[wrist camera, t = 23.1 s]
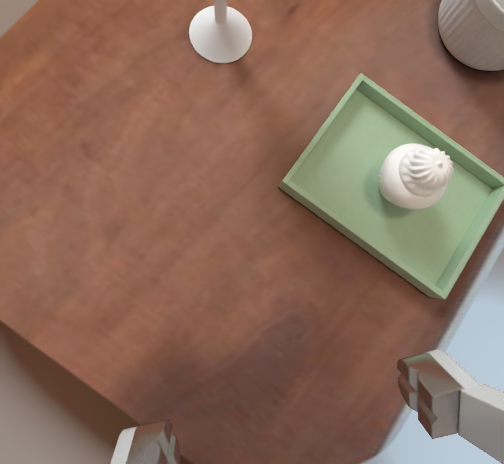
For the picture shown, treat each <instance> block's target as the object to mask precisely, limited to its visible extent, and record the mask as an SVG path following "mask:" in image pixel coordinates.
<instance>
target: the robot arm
mask: <svg viewBox="0 0 504 464" xmlns="http://www.w3.org/2000/svg"><path fill="white" fill-rule="evenodd" d="M397 368H398V370H399V371H400V372H401V374H400V376H399V377H398V386H399V389H400V392H401V394H402V396H403V398H404V400H405V402H406V403H407V404H408V406H409V407H410V408H412V409H413V410H415V411H417V412H418V420H419V421H420V423H421V424H422V425H423V427H424V428H425V429H426V431H427V432H428V434H429V435H430V436H431V438H432V439H434V438H438V437H443V436H446V435H451V434H455V433H458V434H459V435H460V436H461V437H463V438H464V439H466V440H468V441H469V442H471V443H472V444H473V445H475V446H477V447H478V448H480V449H481V450H483V451H484V452H486V453H487V454H489V455H490V456H492V457H493V458H495V459H496V460H498V461H499V462H501V463H502V464H504V392H503V391H501V390H498V389H496V388H493V387H491V386H489V385H486V384H483V385H480V384H479V383H478V382H477V381H476V380H475V379H474V378H472V377H471V376H470V375H469V374H468V373H467V372H466V371H465V370H464V369H463V368H462V367H461V366H460V365H458V364H457V363H456V362H455V361H454V360H453V359H452V358H451V357H450V356H449V355H448V354H446V352H444V351H443V350H441V349H437V350H434V351H430V352H426V353H421V354H418V355H414V356H410V357H407V358H403V359H399V360H398V362H397ZM171 432H172V425H171V423H170V421H169V420H163V421H159V422H154V423H150V424H145V425H141V426H137V427H134V428H129V429H125V430H123V431H122V432H121V434H120V435H119V438H118V442H117V444H116V447H115V451H114V454H113V457H112V460H111V463H110V464H179V463H180V449H179V444H178V440H177V437H176V436H175V435H174V434H172V433H171Z"/></svg>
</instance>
